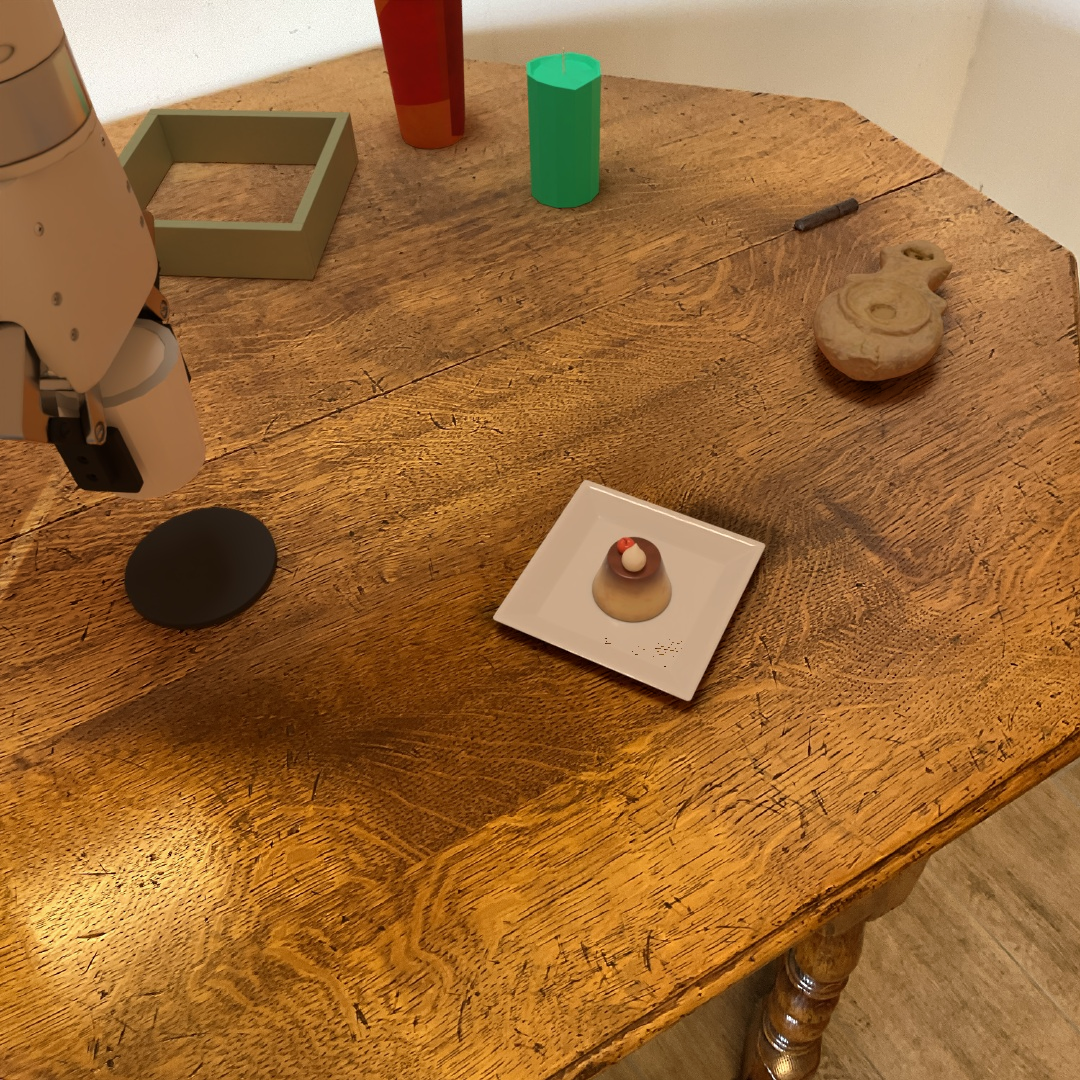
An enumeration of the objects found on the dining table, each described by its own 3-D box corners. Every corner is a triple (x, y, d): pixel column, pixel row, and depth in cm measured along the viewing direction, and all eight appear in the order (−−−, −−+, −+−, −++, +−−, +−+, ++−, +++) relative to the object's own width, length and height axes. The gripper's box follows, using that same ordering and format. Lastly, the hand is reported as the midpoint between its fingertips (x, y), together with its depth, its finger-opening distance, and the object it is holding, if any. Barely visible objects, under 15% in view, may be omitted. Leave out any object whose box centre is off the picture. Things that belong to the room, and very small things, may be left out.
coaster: (105, 625, 58) (101, 619, 58) (156, 509, 64) (152, 503, 63) (255, 634, 57) (252, 628, 57) (293, 516, 63) (291, 510, 63)
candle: (522, 204, 85) (516, 62, 76) (539, 167, 89) (535, 28, 79) (591, 211, 84) (593, 69, 75) (605, 173, 88) (609, 33, 78)
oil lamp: (928, 280, 77) (947, 222, 73) (973, 407, 68) (997, 349, 64) (789, 279, 77) (800, 223, 74) (814, 406, 68) (829, 349, 64)
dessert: (584, 490, 64) (585, 437, 60) (763, 555, 60) (776, 502, 56) (492, 629, 57) (487, 579, 54) (687, 712, 54) (696, 664, 50)
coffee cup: (443, 101, 97) (425, -70, 85) (495, 133, 93) (484, -42, 81) (370, 131, 94) (342, -43, 82) (421, 166, 89) (398, -12, 78)
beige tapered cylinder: (63, 461, 54) (6, 361, 48) (175, 399, 57) (133, 297, 51) (128, 530, 50) (75, 430, 45) (243, 459, 53) (205, 358, 48)
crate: (94, 273, 80) (72, 224, 77) (166, 155, 92) (150, 108, 88) (312, 280, 79) (300, 230, 76) (358, 159, 90) (350, 111, 87)
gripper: (-13, 1, 44) (127, 325, 58) (-242, 226, 33) (-1, 561, 47) (152, 2, 43) (254, 330, 57) (-25, 232, 32) (153, 569, 46)
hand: (138, 431), depth 52 cm, fingers closed on beige tapered cylinder, 6 cm apart
